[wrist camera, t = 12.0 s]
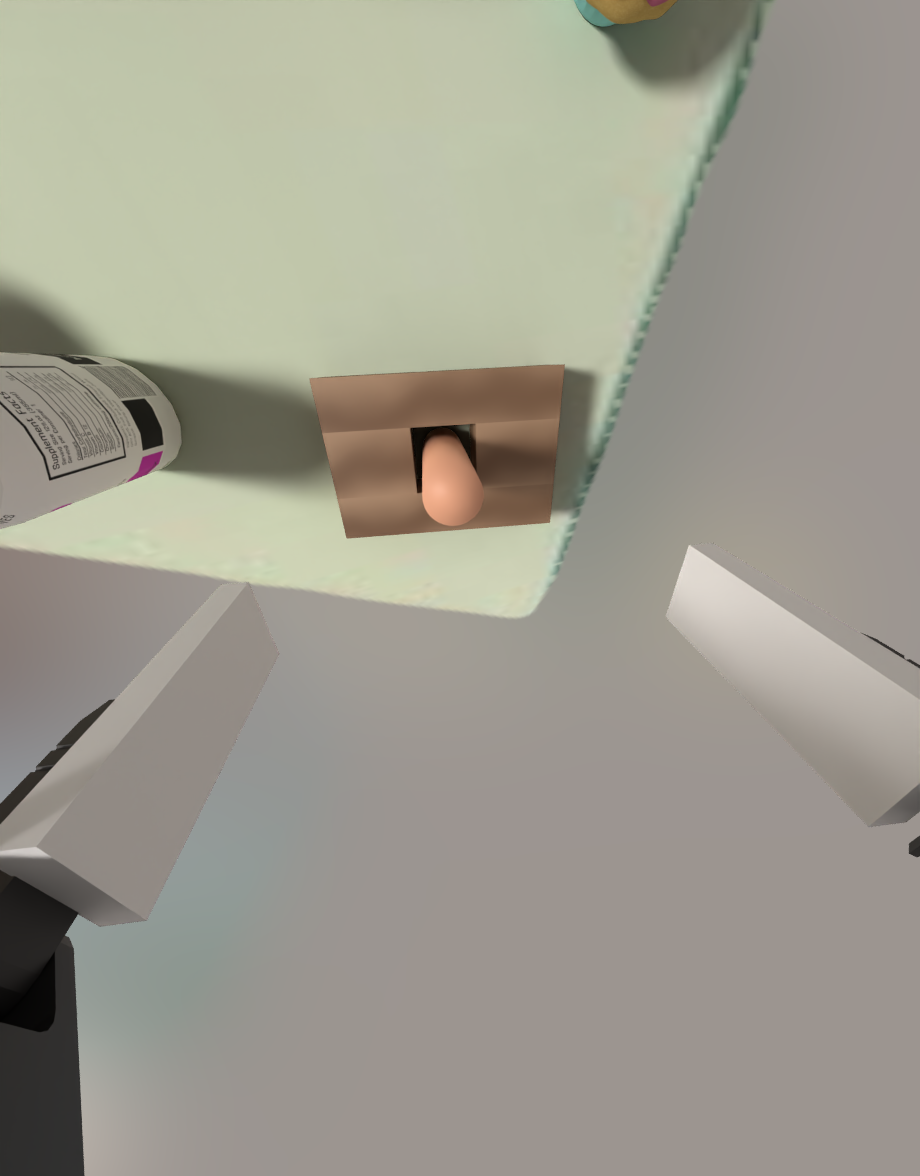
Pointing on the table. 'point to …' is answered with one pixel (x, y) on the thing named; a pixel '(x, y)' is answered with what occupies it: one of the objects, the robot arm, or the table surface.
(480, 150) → the table surface
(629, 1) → the cupcake
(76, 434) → the supplement can
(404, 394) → the hole block
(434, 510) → the dowel pin
